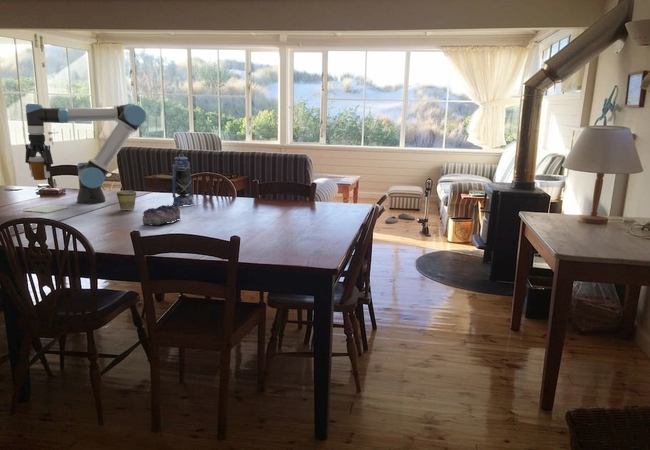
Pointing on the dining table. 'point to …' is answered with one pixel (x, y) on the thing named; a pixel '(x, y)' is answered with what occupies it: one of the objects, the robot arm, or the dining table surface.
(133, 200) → the yellow green plant pot
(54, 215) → the dining table surface
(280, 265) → the dining table surface
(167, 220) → the geode
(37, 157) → the disposable coffee cup
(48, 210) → the sage placemat
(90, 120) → the robot arm
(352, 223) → the dining table surface
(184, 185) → the lantern
